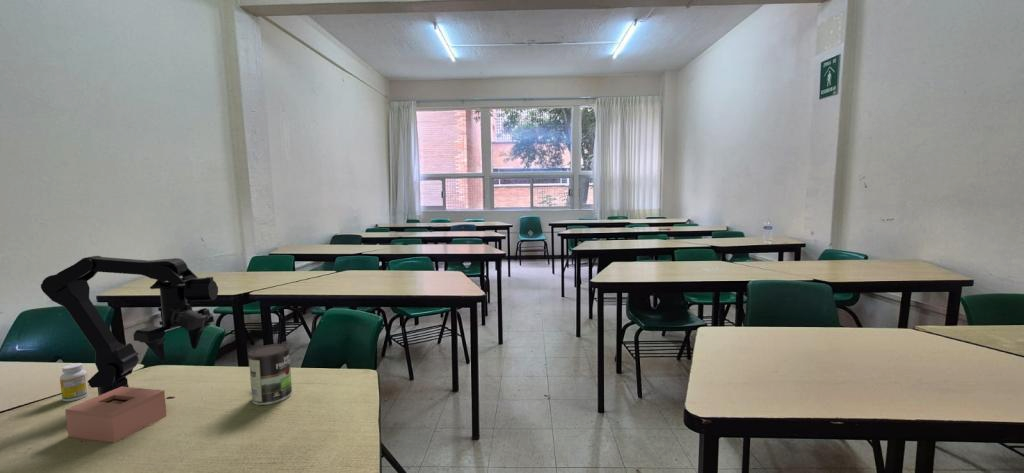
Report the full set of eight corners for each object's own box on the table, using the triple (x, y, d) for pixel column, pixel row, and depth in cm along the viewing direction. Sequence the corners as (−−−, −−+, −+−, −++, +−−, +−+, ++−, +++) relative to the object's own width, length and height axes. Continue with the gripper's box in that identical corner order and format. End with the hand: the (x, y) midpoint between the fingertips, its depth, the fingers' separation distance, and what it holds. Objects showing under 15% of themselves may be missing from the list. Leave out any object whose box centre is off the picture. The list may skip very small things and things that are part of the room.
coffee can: (299, 388, 122) (297, 343, 121) (278, 405, 112) (275, 356, 110) (266, 388, 122) (263, 343, 121) (242, 405, 112) (239, 356, 111)
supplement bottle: (82, 399, 116) (79, 367, 115) (57, 403, 114) (53, 370, 113) (93, 391, 121) (89, 360, 120) (69, 395, 119) (65, 363, 118)
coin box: (68, 436, 98) (65, 409, 97) (124, 411, 109) (121, 386, 109) (114, 442, 95) (111, 414, 94) (166, 415, 107) (164, 390, 106)
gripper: (161, 312, 105) (167, 369, 107) (226, 295, 124) (230, 344, 125) (129, 310, 108) (135, 366, 109) (197, 294, 126) (201, 342, 128)
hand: (179, 354), depth 118 cm, fingers open, 9 cm apart
